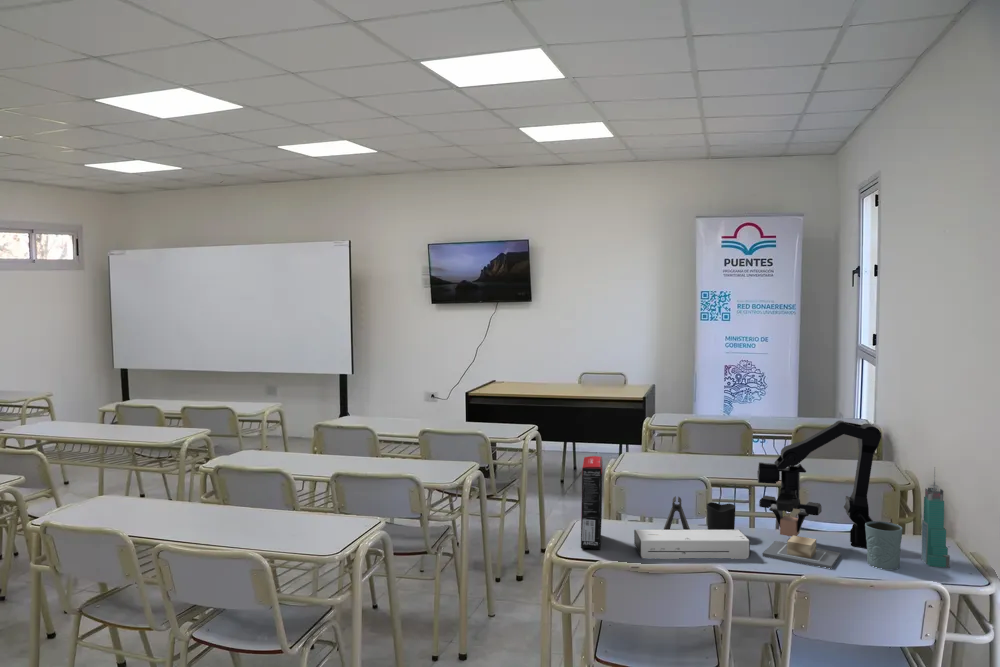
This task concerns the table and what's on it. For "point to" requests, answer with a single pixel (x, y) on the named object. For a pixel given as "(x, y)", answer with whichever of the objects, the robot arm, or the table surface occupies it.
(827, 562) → the grey flat plate
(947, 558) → the building
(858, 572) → the table surface
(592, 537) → the graphics card box
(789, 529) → the terracotta block
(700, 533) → the laminator
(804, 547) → the oak base block
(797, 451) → the robot arm
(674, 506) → the pliers
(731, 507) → the pen holder
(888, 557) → the green embossed cup
